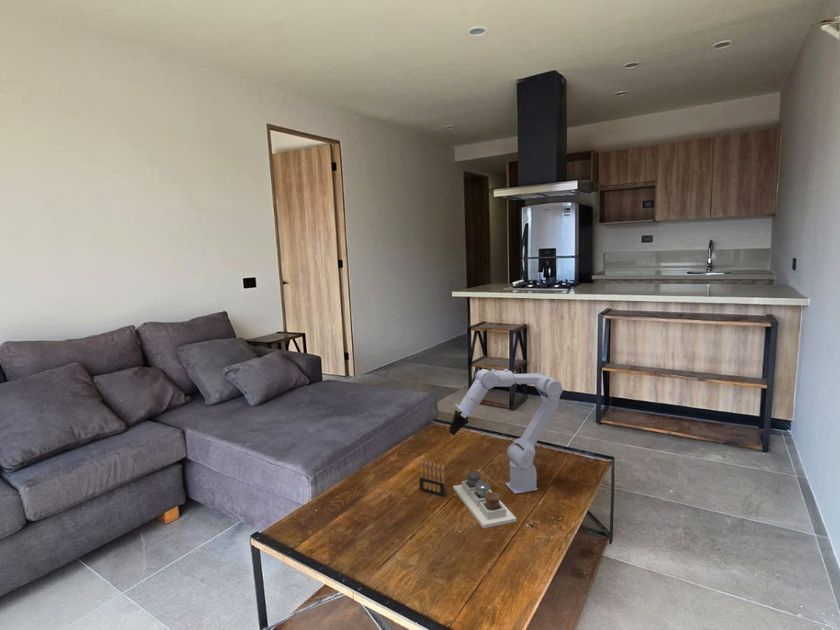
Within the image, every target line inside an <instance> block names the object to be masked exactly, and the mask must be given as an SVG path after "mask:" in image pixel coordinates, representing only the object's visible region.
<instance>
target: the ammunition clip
mask: <svg viewBox="0 0 840 630" xmlns="http://www.w3.org/2000/svg"><path fill="white" fill-rule="evenodd" d="M445 470H446V469H445V464H442V465H440V463H437V464H436V462H435V461H434V462H433V465H432V461H429V463H428V460H426V459H425V462H424V460H423V459H421V461H420V470H419V472H420V473H419V475H420V476H419V485H418V486H419V491H421V490H422V491H421V492H424V491H425V493H428V492H429V493H428V494H431V493H432V495H436V496H439V497H443V498H445V497H446V496H447V481H446V471H445Z"/></svg>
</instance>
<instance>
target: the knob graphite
mask: <svg viewBox="0 0 840 630" xmlns="http://www.w3.org/2000/svg"><path fill="white" fill-rule="evenodd" d="M481 476H482V475H481V473H480V472H478V471H469V472H467V473H466V476H465V477H466V478H467V480H468V486H470V487H475V484H476V483H477V482H480V481H481V478H482V477H481Z"/></svg>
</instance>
